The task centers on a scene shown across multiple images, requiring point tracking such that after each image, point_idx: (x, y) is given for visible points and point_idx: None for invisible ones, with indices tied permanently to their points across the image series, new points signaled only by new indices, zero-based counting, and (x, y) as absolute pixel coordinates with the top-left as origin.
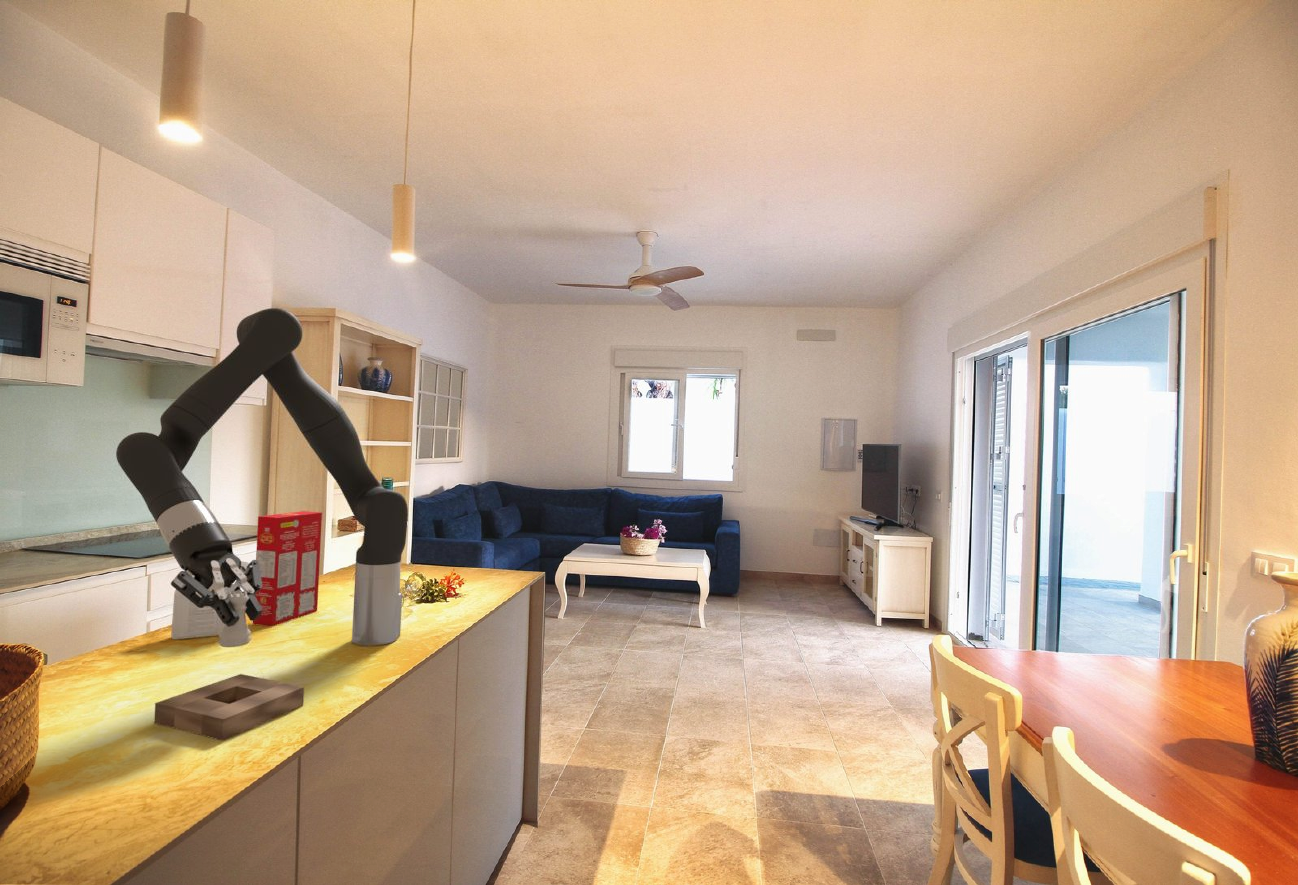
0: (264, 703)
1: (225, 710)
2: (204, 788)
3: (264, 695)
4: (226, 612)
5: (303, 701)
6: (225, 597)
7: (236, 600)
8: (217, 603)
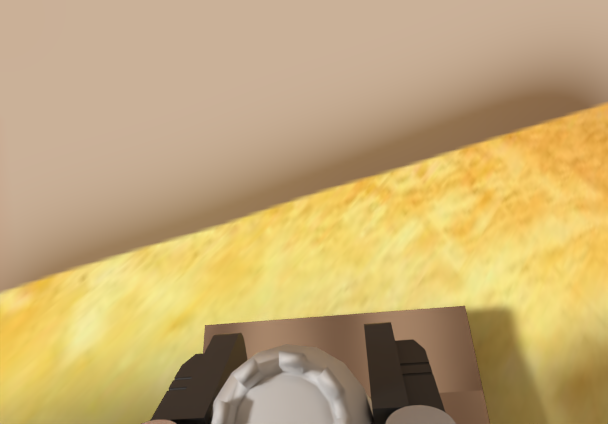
0: (338, 316)
1: (428, 359)
2: (582, 166)
3: None
4: (420, 363)
5: None
6: (399, 412)
7: (340, 361)
8: None
